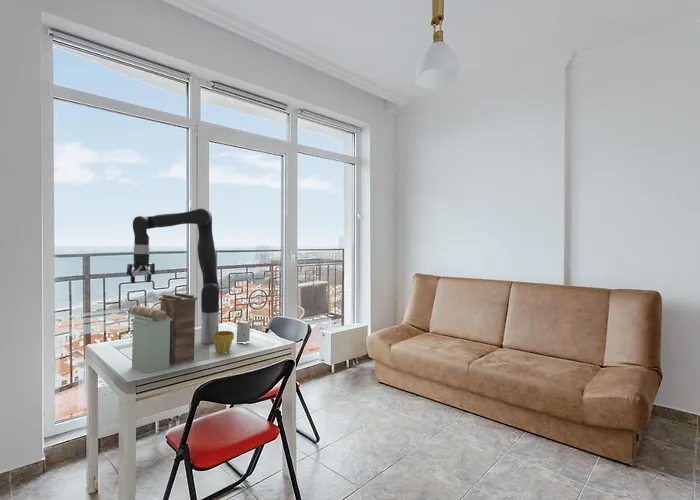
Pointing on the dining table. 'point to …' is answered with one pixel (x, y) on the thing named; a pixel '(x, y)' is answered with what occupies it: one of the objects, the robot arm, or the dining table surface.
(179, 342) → the walnut tub
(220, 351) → the plant pot
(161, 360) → the pale green lidded tub
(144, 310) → the tan roll
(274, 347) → the dining table surface
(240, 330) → the skincare box
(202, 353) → the dining table surface
